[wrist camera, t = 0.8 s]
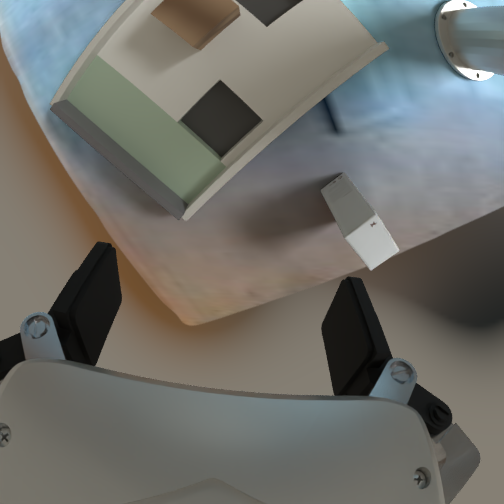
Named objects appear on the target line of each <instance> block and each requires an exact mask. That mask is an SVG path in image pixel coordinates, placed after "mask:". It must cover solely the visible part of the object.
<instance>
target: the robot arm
mask: <svg viewBox="0 0 504 504" xmlns="http://www.w3.org/2000/svg"><path fill="white" fill-rule="evenodd" d="M435 32H436V37H437V41H438V44H439V47H440V49H441V51H442V53H443V55H444V57H445V59H446V60H447V61H448V63H449V64H450V65H451V66H452V67H453V68H454V70H455V71H457V72H458V73H459V74H460V75H462V76H464V77H466V78H468V79H472V80H476V81H482V80H486V79H488V78H490V77H491V76H492V75H493V74H498V75H503V76H504V6H489V7H477V6H475V5H473V4H472V3H470V2H468V1H465V0H450V1H447V2H445V3H443V4H442V5H441V6H440V8H439V9H438V11H437V14H436V18H435ZM121 301H122V294H121V288H120V281H119V274H118V266H117V258H116V249H115V248H114V247H112V245H111V244H110V243H105V242H97V243H96V244H95V246H94V247H93V248H92V250H91V251H90V253H89V254H88V255H87V257H86V258H85V260H84V261H83V263H82V264H81V266H80V267H79V269H78V270H76V271H75V272H74V273H73V274H72V276H71V277H70V279H69V280H68V282H67V283H66V285H65V287H64V288H63V290H62V291H61V293H60V294H59V296H58V298H57V299H56V301H55V302H54V304H53V306H52V307H51V309H50V311H49V312H48V314H46V313H44V312H37V313H33V314H31V315H29V316H28V317H26V318H25V319H24V321H23V322H22V324H21V327H20V333H18V334H16V335H14V336H11V337H9V338H7V339H4V340H2V341H0V504H450V502H451V501H452V500H453V499H454V498H455V496H456V495H457V494H458V493H459V491H460V490H461V489H462V488H463V486H464V485H465V484H466V482H467V481H468V480H469V478H470V477H471V476H472V474H473V473H474V471H475V470H476V468H477V467H478V465H479V463H480V453H479V451H478V450H477V448H476V447H475V445H474V444H473V443H472V442H471V441H470V439H469V438H468V437H467V436H466V434H465V433H464V432H463V431H462V430H461V428H460V427H459V426H458V425H457V424H456V423H455V424H454V425H453V424H452V413H451V410H450V409H449V407H448V406H447V405H446V404H445V403H444V402H443V401H441V400H440V399H438V398H437V397H435V396H434V395H432V394H431V393H430V392H428V391H427V390H426V389H424V388H423V387H421V386H420V385H419V384H417V383H416V381H417V373H416V370H415V368H414V367H413V366H412V365H411V364H410V363H409V362H408V361H406V360H404V359H401V358H393V357H392V355H391V352H390V349H389V346H388V344H387V341H386V338H385V336H384V333H383V330H382V327H381V325H380V322H379V320H378V317H377V315H376V313H375V311H374V308H373V306H372V303H371V301H370V298H369V296H368V293H367V291H366V288H365V286H364V284H363V281H362V279H361V278H356V277H347V278H346V279H345V280H342V281H341V284H340V286H339V288H338V290H337V292H336V295H335V297H334V299H333V301H332V304H331V306H330V308H329V310H328V312H327V314H326V317H325V319H324V321H323V323H322V328H321V329H322V336H323V340H324V345H325V350H326V355H327V360H328V366H329V371H330V376H331V381H332V387H333V392H334V395H335V396H323V395H322V396H321V395H287V394H268V393H254V392H243V391H232V390H223V389H215V388H206V387H198V386H192V385H185V384H179V383H173V382H167V381H161V380H155V379H150V378H145V377H140V376H135V375H131V374H126V373H122V372H117V371H112V370H108V369H104V368H99V367H95V365H96V363H97V361H98V358H99V355H100V353H101V350H102V348H103V345H104V343H105V340H106V338H107V335H108V333H109V330H110V328H111V325H112V323H113V321H114V318H115V316H116V314H117V312H118V309H119V306H120V305H121Z"/></svg>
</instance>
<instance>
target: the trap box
mask: <svg viewBox="0 0 504 504" xmlns="http://www.w3.org/2000/svg"><path fill="white" fill-rule="evenodd" d="M162 1H164V0H126V1H125V2H124V3H123V4H122V5H121V6H120V7H119V8H118V9H117V10H116V12H115V13H114V14H113V15H112V16H111V17H110V18H109V20H108V21H107V22H106V23H105V24H104V26H103V27H102V28H101V29H100V31H99V32H98V33H97V34H96V36H95V37H94V38H93V39H92V41H91V42H90V43H89V45H88V46H87V47H86V49H85V50H84V51H83V53H82V54H81V56H80V57H79V58H78V60H77V61H76V63H75V64H74V66H73V67H72V69H71V70H70V72H69V73H68V75H67V76H66V78H65V79H64V81H63V83H62V84H61V86H60V87H59V89H58V91H57V92H56V94H55V96H54V98H53V99H52V101H51V103H50V105H51V106H52V107H51V109H50V110H51V111H52V112H53V113H54V114H56V115H57V116H58V117H59V118H60V119H61V120H62V121H63V122H65V123H66V124H67V125H68V126H69V127H70V128H71V129H72V130H74V131H75V132H76V133H77V134H78V135H79V136H80V137H82V138H83V139H84V140H85V141H86V142H87V143H88V144H90V145H91V146H92V147H93V148H94V149H95V150H96V151H98V152H99V153H100V154H101V155H102V156H103V157H105V158H106V159H107V160H108V161H109V162H110V163H111V164H113V165H114V166H115V167H116V168H117V169H118V170H120V171H121V172H122V173H123V174H124V175H125V176H127V177H128V178H129V179H130V180H131V181H133V182H134V183H135V184H136V185H137V186H138V187H140V188H141V189H142V190H143V191H144V192H145V193H147V194H148V195H149V196H150V197H151V198H153V199H154V200H155V201H156V202H157V203H159V204H160V205H161V206H162V207H163V208H165V209H166V210H167V211H168V212H169V213H171V214H172V215H173V216H174V217H175V218H177V219H178V220H179V219H180V218H181V217H182V218H183V219H184V220H185V221H187V220H188V219H189V218H190V217H191V216H192V215H193V214H194V213H195V212H196V211H197V210H198V209H199V208H200V207H201V206H202V205H203V204H205V203H206V202H207V201H208V200H209V199H210V198H211V197H212V196H213V195H214V194H215V193H216V192H217V191H218V190H219V189H220V188H221V187H222V186H223V185H224V184H226V183H227V182H228V181H229V180H230V179H231V178H232V177H233V176H234V175H235V174H236V173H237V172H238V171H240V170H241V169H242V168H243V167H244V166H245V165H246V164H247V163H248V162H249V161H251V160H252V159H253V158H254V157H255V156H256V155H257V154H258V153H260V152H261V151H262V150H263V149H264V148H265V147H266V146H267V145H269V144H270V143H271V142H272V141H273V140H274V139H275V138H277V137H278V136H279V135H280V134H281V133H282V132H284V131H285V130H286V129H287V128H288V127H289V126H291V125H292V124H293V123H294V122H295V121H297V120H298V119H299V118H300V117H301V116H303V115H304V114H305V113H306V112H307V111H309V110H310V109H311V108H312V107H313V106H315V105H316V104H317V103H318V102H320V101H321V100H322V99H323V98H325V97H326V96H327V95H328V94H330V93H331V92H332V91H333V90H335V89H336V88H337V87H338V86H340V85H341V84H342V83H344V82H345V81H346V80H347V79H349V78H350V77H351V76H353V75H354V74H355V73H357V72H358V71H359V70H361V69H362V68H363V67H365V66H366V65H367V64H369V63H370V62H371V61H373V60H374V59H375V58H377V57H378V56H380V55H381V54H382V53H384V52H385V51H387V50H388V49H389V47H388V46H387V45H386V43H385V42H376V41H375V39H374V38H373V37H372V36H371V34H370V33H369V32H368V31H367V30H366V28H365V27H364V26H363V25H362V24H361V23H360V21H359V20H358V19H357V18H356V17H355V16H354V15H353V14H352V12H351V11H350V10H349V9H348V8H347V7H346V6H345V5H344V4H343V3H342V2H341V1H340V0H232V1H233V2H235V3H236V4H237V5H238V6H239V9H240V15H241V16H239V17H238V18H237V19H236V20H235V21H233V22H232V23H231V24H230V25H229V26H227V27H226V28H225V29H224V30H223V31H222V32H221V33H219V34H218V35H217V36H216V37H215V38H214V39H213V40H212V41H211V42H210V43H208V44H207V45H206V46H205V47H204V48H203V49H202V50H198V49H196V48H194V47H192V46H191V45H190V44H189V43H187V42H186V41H185V40H184V39H182V38H181V37H180V36H179V35H177V34H176V33H175V32H174V31H172V30H171V29H170V28H169V27H167V26H166V25H165V24H163V23H162V22H161V21H159V20H158V19H157V18H156V17H154V16H153V15H151V14H150V13H151V12H152V11H153V10H154V9H155V8H156V7H157V6H158V5H159V4H160V3H161V2H162Z"/></svg>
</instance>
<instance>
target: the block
mask: <svg viewBox="0 0 504 504" xmlns="http://www.w3.org/2000/svg"><path fill="white" fill-rule="evenodd" d="M150 14H151V15H153V16H154V17H156V18H157V19H158V20H159V21H161V22H162V23H163V24H165V25H166V26H167V27H169V28H170V29H171V30H172V31H174V32H175V33H176V34H177V35H179V36H180V37H181V38H182V39H184V40H185V41H186V42H187V43H189V44H190V45H191V46H192V47H194V48H196V49H198V50H202V49H203V48H204V47H205V46H206V45H207V44H208V43H210V42H211V41H212V40H213V39H214V38H215V37H216V36H217V35H218V34H219V33H221V32H222V31H223V30H224V29H225V28H226V27H227V26H229V25H230V24H231V23H232V22H233V21H235V20H236V19H237V18H238V17H239V16H241V15H240V9H239V6H238V5H237V4H236V3H235V2H233V1H232V0H164V1H162V2H161V3H160V4H159V5H158V6H157V7H156V8H155V9H154V10H153V11H152V12H151V13H150Z"/></svg>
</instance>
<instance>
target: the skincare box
mask: <svg viewBox="0 0 504 504" xmlns="http://www.w3.org/2000/svg"><path fill="white" fill-rule="evenodd" d="M320 191H321V193H322V195H323V197H324V199H325V201H326V202H327V204H328V206H329V208H330V210H331V212H332V214H333V216H334V218H335V220H336V222H337V224H338V226H339V228H340V230H341V232H342V234H343V236H344V238H345V240H346V241H347V242H348V243H349V245H350V246H351V247H352V249H353V250H354V251H355V252H356V253H357V255H358V256H359V257H360V258H361V259H362V261H363V262H364V263H365V264H366V266H367V267H368V268H369V270H372V269H374V268H375V267H376V266H378V265H379V264H381V263H382V262H384V261H385V260H387V259H388V258H389V257H391V256H392V255H394V254H395V253H397V252H398V251H399V248H398V247H397V245H396V243H395V242H394V240H393V239H392V237H391V235H390V233H389V232H388V230H387V229H386V227H385V226H384V224H383V222H382V221H381V219H380V218H379V216H378V215H377V214H376V212H375V211H374V209H373V208H372V207H371V205H370V204H369V203H368V202H367V200H366V199H365V198H364V196H363V195H362V194H361V193H360V191H359V190H358V189H357V187H356V186H355V185H354V184H353V182H352V181H351V180H350V179H349V177H348V176H347V175H346V174H345V173H342V174H341V175H340V176H338V177H337V178H336V179H334V180H333V181H332V182H330V183H329V184H328V185H326V186H325V187H324V188H322V189H321V190H320Z"/></svg>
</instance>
